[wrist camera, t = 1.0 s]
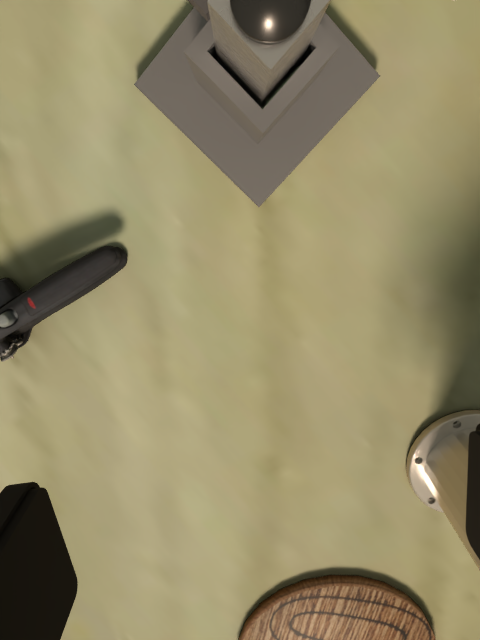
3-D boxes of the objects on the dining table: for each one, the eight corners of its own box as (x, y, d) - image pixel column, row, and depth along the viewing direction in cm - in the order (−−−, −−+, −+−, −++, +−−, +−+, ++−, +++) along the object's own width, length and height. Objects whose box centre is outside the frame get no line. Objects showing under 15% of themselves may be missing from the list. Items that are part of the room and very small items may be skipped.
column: (293, 78, 35) (338, -9, 19) (257, 120, 36) (271, 70, 20) (256, 37, 34) (269, -91, 18) (219, 81, 35) (202, -4, 19)
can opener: (-2, 361, 44) (-35, 385, 39) (-45, 302, 42) (-86, 319, 37) (148, 283, 42) (135, 298, 36) (110, 217, 40) (89, 222, 35)
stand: (374, 80, 36) (430, 37, 26) (258, 206, 39) (265, 214, 29) (253, -60, 33) (259, -174, 23) (138, 88, 36) (95, 48, 26)
